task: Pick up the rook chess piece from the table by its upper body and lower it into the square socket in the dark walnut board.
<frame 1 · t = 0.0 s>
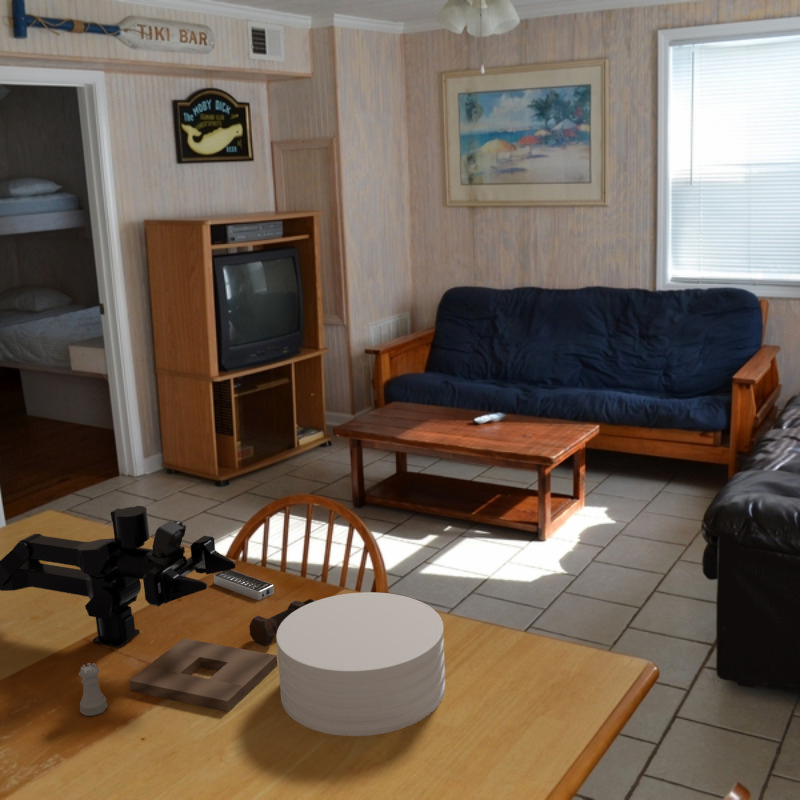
hand: (220, 575, 175), 17 cm above the table, tool horizontal, fingers open, 9 cm apart
rook chess piece: (94, 710, 165), on the table
socket board: (205, 677, 173), on the table
bolt: (288, 631, 190), on the table
multiport hub: (243, 590, 209), on the table
plate stack: (363, 690, 168), on the table
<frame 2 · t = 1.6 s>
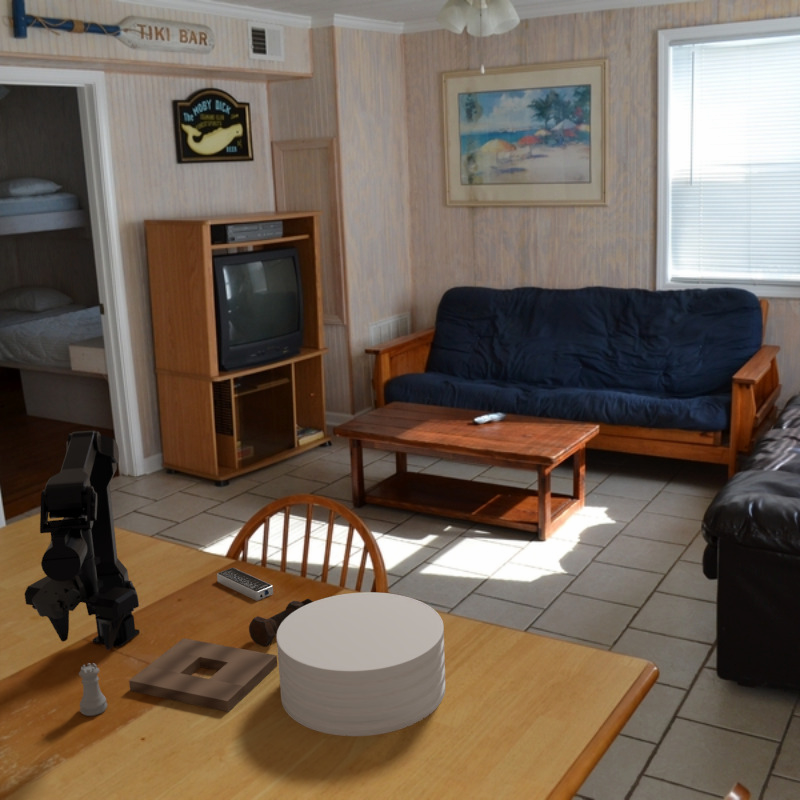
hand: (86, 644, 162), 12 cm above the table, tool pointing down, fingers open, 9 cm apart
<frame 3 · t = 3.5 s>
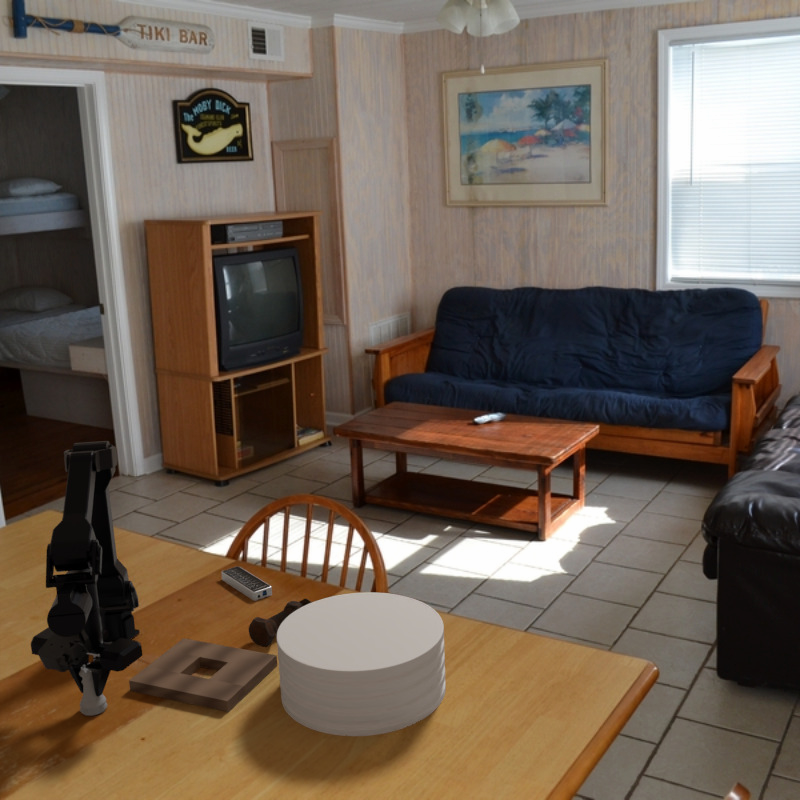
hand: (91, 693, 164), 3 cm above the table, tool pointing down, fingers closed on rook chess piece, 3 cm apart
rook chess piece: (94, 710, 165), on the table, touching gripper
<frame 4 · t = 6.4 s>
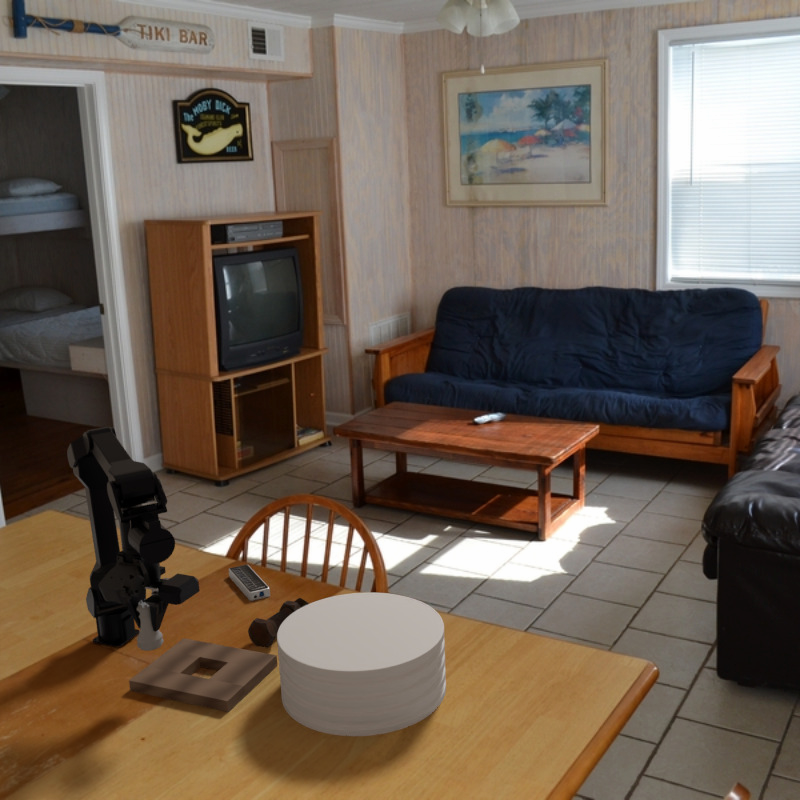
hand: (149, 629, 166), 12 cm above the table, tool pointing down, fingers closed on rook chess piece, 3 cm apart
rook chess piece: (150, 646, 167), point 9 cm above the table, touching gripper
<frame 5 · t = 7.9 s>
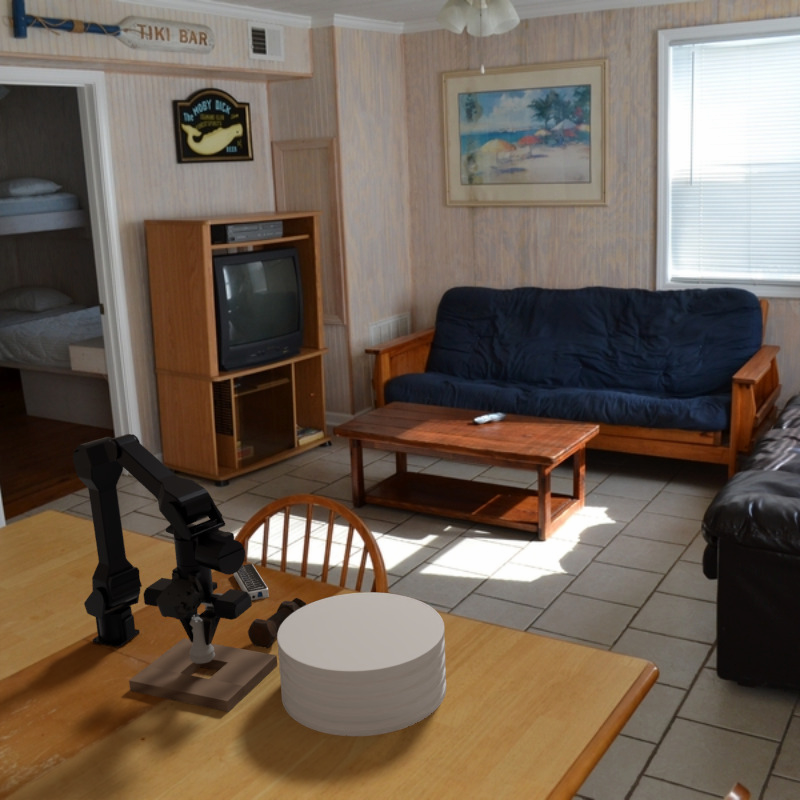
hand: (201, 642, 172), 7 cm above the table, tool pointing down, fingers closed on rook chess piece, 3 cm apart
rook chess piece: (202, 659, 172), point 4 cm above the table, touching gripper
when the fingers open (4 cm above the table, at t = 9.3 s): rook chess piece drops 1 cm, resting in socket board.
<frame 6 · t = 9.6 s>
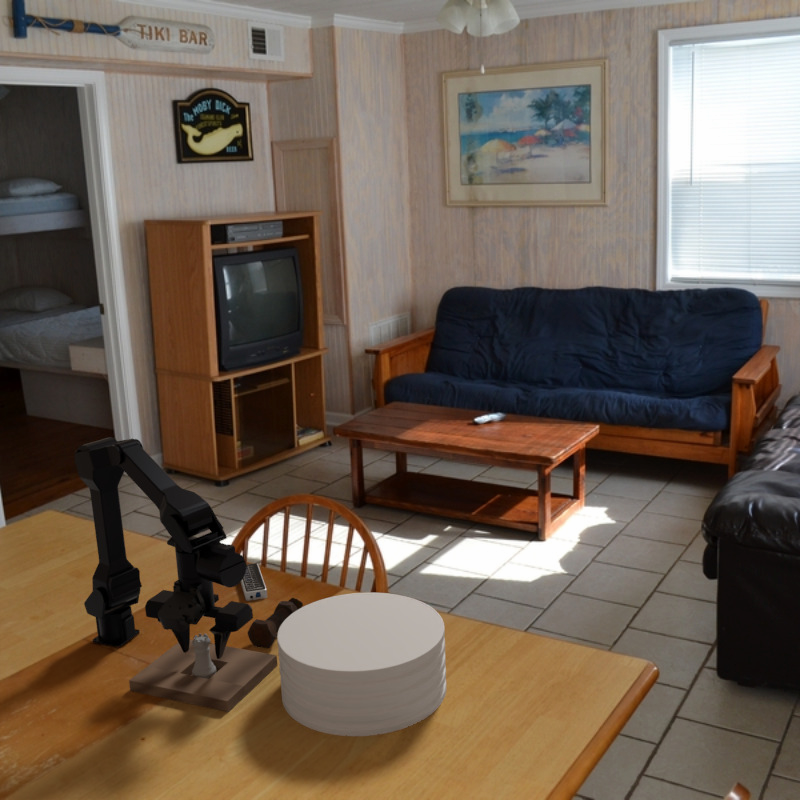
hand: (202, 654, 172), 4 cm above the table, tool pointing down, fingers open, 7 cm apart
rook chess piece: (204, 679, 173), resting in socket board
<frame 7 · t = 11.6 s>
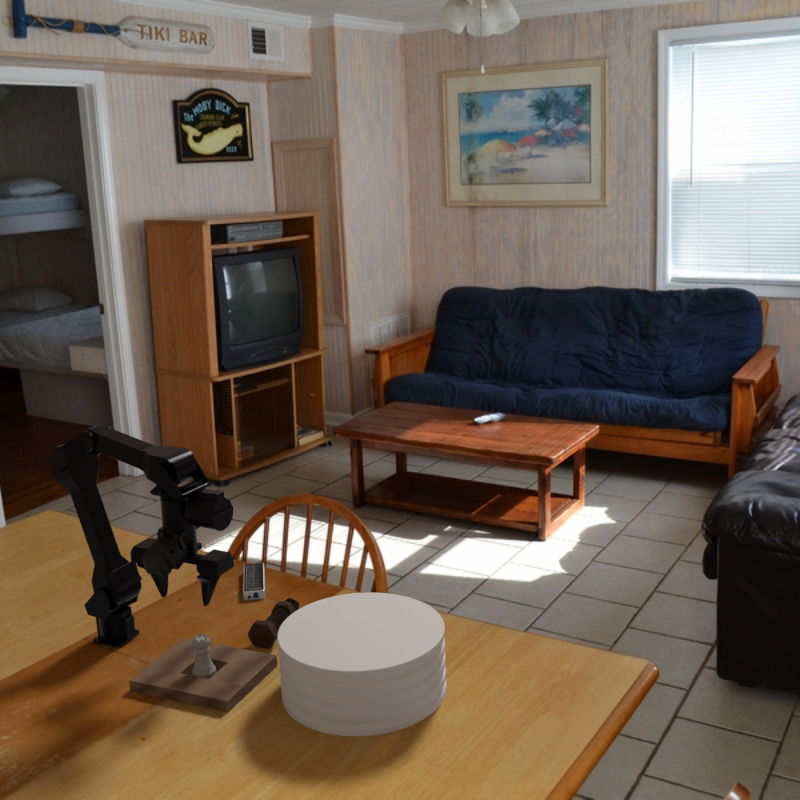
hand: (185, 600, 177), 12 cm above the table, tool pointing down, fingers open, 9 cm apart
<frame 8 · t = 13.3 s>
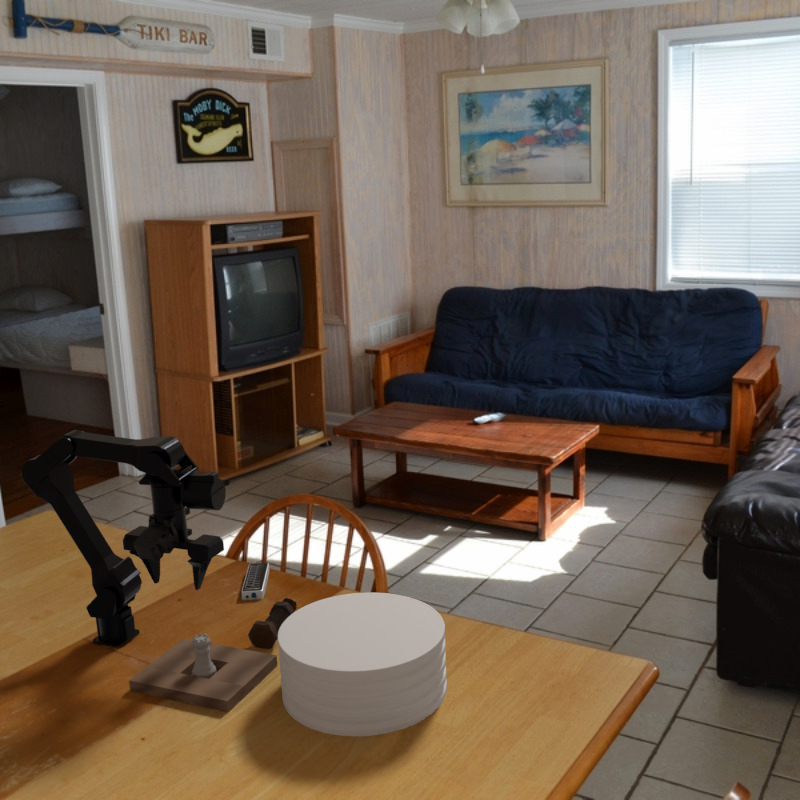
hand: (177, 585, 183), 12 cm above the table, tool pointing down, fingers open, 9 cm apart
at the end: rook chess piece 0.1 cm off-centre on the socket board, point 0.0 cm above the socket board's base; rook chess piece tilted 0°; the gripper is holding nothing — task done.
